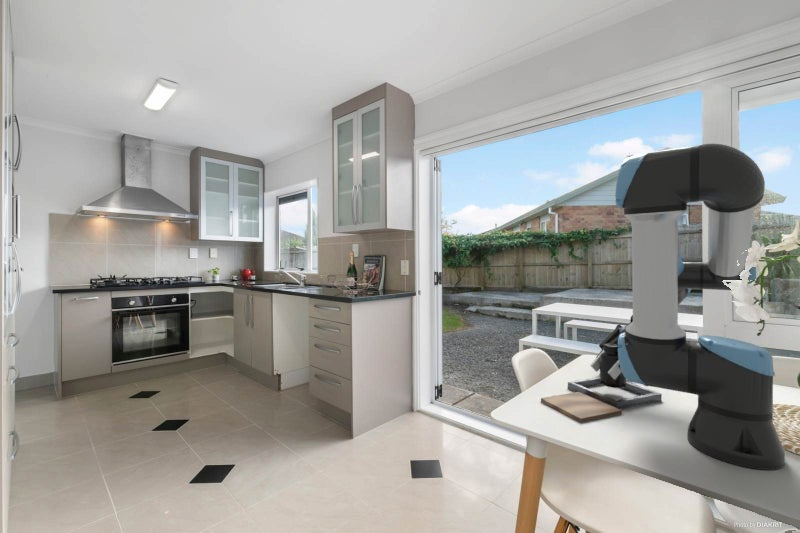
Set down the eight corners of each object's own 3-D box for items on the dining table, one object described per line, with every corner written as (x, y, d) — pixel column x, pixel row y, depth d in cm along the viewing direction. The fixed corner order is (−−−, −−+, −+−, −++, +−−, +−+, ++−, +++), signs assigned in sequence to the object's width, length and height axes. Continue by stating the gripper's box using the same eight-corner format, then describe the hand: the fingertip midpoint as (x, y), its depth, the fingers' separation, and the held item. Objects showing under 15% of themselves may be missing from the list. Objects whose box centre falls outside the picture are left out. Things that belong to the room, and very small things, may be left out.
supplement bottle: (628, 384, 108) (628, 344, 108) (623, 390, 103) (623, 348, 103) (602, 379, 113) (603, 341, 113) (596, 384, 108) (597, 345, 108)
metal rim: (661, 400, 103) (661, 393, 103) (617, 409, 97) (617, 402, 97) (608, 381, 119) (608, 375, 119) (567, 388, 113) (567, 381, 113)
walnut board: (621, 414, 94) (621, 410, 94) (580, 422, 90) (580, 418, 90) (578, 395, 107) (578, 391, 107) (540, 401, 103) (540, 398, 103)
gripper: (687, 330, 101) (636, 392, 98) (631, 319, 120) (587, 370, 117) (671, 312, 100) (619, 373, 97) (617, 304, 119) (573, 355, 116)
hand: (602, 372), depth 107 cm, fingers closed on supplement bottle, 7 cm apart
